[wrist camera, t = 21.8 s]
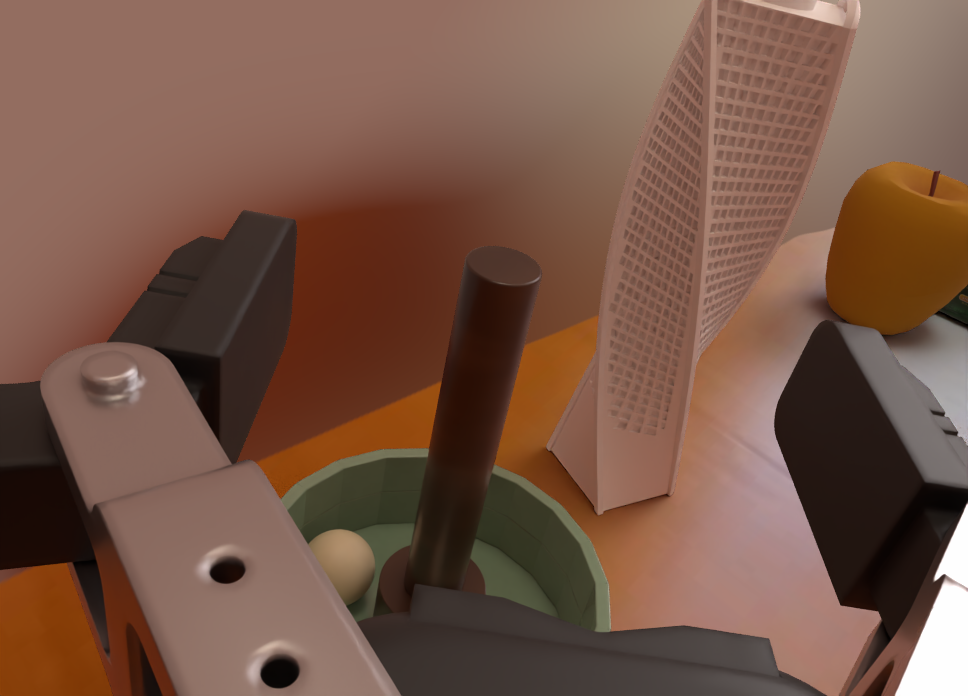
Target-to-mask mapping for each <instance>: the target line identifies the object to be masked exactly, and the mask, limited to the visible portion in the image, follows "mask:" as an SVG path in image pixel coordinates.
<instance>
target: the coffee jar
mask: <svg viewBox="0 0 968 696" xmlns="http://www.w3.org/2000/svg"><path fill="white" fill-rule="evenodd" d="M939 311H941V312H943V313H945V314H947V315H949V316H951V317H953V318H955V319H957V320H959V321H961V322H964V323H966V324H968V285H967V286H966V287H965V288H964V289H963V290H962V291H961V292H959V293H958V294H957V295H956V296H955V297H954V298H953V299H952V300H951V301H950V302H949V303H948V304H947V305H945V306H944V307H943V308H941V309H940V310H939Z"/></svg>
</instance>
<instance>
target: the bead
mask: <svg viewBox="0 0 968 696" xmlns="http://www.w3.org/2000/svg"><path fill="white" fill-rule="evenodd" d="M308 545H309V547H310V548H311V550H312V552H313V553H314V555H315V557H316V558H317V560H318V561H319V563H320V565H321V566H322V568H323V570H324V571H325V573H326V574H327V576H328V578H329V579H330V581H331V582H332V584H333V586H334V587H335V589H336V591H337V592H338V594H339V595H340V597H341V599H342V600H343V602H344V604H345V605H349V604H352V603H354V602H355V601H357V600H358V599H360V598H361V597H362V596H363V595H364V594H365V593H366V592H367V590H368V589H369V587H370V586H371V584H372V581H373V579H374V574H375V558H374V554H373V552H372V549H371V548H370V546H369V544H368V543H367V542H366V541H365V540H364V539H363V538H362V537H361V536H359V535H358V534H356V533H354V532H352V531H348V530H343V529H335V530H329V531H326V532H324V533H321V534H320V535H318V536H316V537H315V538H314V539H313V540H312V541H311V542H310V543H309V544H308Z"/></svg>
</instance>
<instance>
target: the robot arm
mask: <svg viewBox="0 0 968 696" xmlns="http://www.w3.org/2000/svg"><path fill="white" fill-rule="evenodd" d="M296 236H297V226H296V221H295V220H294V219H290V218H284V217H279V216H273V215H268V214H263V213H258V212H252V211H247V210H244V211H242V213H241V214H240V215H239V217H238V218H237V220H236V221H235V223H234V225H233V226H232V228H231V229H230V231H229V232H228V234H227V235H226V237H225V238H224V240H220V239H214V238H209V237H203V236H201V237H199V238H197V239H195V240H193V241H191V242H189V243H188V244H186V245H184V246H182V247H180V248H178V249H176V250H174V251H173V253H172V254H171V256H170V257H169V258H168V260H167V261H166V262H165V264H164V265H163V266H162V268H161V269H160V273H159V274H157V275H156V276H155V277H154V279H153V280H152V281H151V283H150V284H149V285H148V289H147V291H144V292H143V293H142V295H141V296H140V298H139V299H138V300H137V302H136V303H135V305H134V306H133V307H132V308H131V310H130V311H129V313H128V314H127V315H126V317H125V318H124V319H123V321H122V322H121V323H120V325H119V326H118V327H117V329H116V330H115V332H114V333H113V334H112V336H111V337H110V338H109V340H108V341H107V342H106V343H99V344H92V345H88V346H84V347H81V348H78V349H75V350H72V351H70V352H68V353H66V354H64V355H62V356H61V357H59V358H58V359H56V360H55V361H54V362H52V363H51V364H50V365H49V366H48V367H47V369H46V370H45V371H44V373H43V376H42V378H41V381H36V382H30V383H18V384H0V570H3V569H13V568H22V567H31V566H41V565H50V564H59V563H67V565H68V567H69V570H70V573H71V576H72V579H73V581H74V584H75V587H76V590H77V593H78V595H79V598H80V601H81V604H82V607H83V610H84V612H85V615H86V618H87V621H88V624H89V626H90V629H91V632H92V635H93V638H94V640H95V643H96V646H97V649H98V652H99V654H100V657H101V660H102V663H103V666H104V668H105V671H106V674H107V677H108V680H109V683H110V687H111V690H112V694H113V696H827V695H825V694H823V693H822V692H820V691H818V690H817V689H815V688H813V687H812V686H810V685H809V684H807V683H805V682H803V681H801V680H799V679H797V678H795V677H793V676H791V675H789V674H787V673H784V672H782V671H779V670H778V668H777V665H776V661H775V658H774V654H773V651H772V647H771V644H770V640H769V639H768V638H762V637H755V636H749V635H742V634H736V633H729V632H723V631H716V630H710V629H704V628H697V627H691V626H672V627H660V628H648V629H636V630H624V631H612V632H597V631H592V630H588V629H585V628H583V627H580V626H578V625H575V624H572V623H570V622H567V621H564V620H562V619H559V618H556V617H554V616H551V615H549V614H546V613H543V612H541V611H538V610H535V609H533V608H530V607H528V606H525V605H522V604H520V603H517V602H514V601H512V600H509V599H506V598H504V597H497V596H491V595H484V594H478V593H471V592H465V591H459V590H452V589H446V588H439V587H433V586H426V585H420V584H415V585H414V590H413V594H412V599H411V604H410V608H409V612H399V613H390V614H385V615H380V616H375V617H370V618H367V619H364V620H361V621H358V622H356V621H355V620H354V618H353V616H352V615H351V613H350V612H349V610H348V608H347V607H346V605H345V604H344V602H343V600H342V599H341V597H340V595H339V594H338V592H337V591H336V589H335V587H334V586H333V584H332V582H331V581H330V579H329V578H328V576H327V574H326V573H325V571H324V570H323V568H322V566H321V565H320V563H319V561H318V560H317V558H316V557H315V555H314V553H313V552H312V550H311V548H310V547H309V545H308V544H307V542H306V540H305V539H304V537H303V535H302V534H301V532H300V531H299V529H298V527H297V526H296V524H295V523H294V521H293V519H292V518H291V516H290V514H289V513H288V511H287V510H286V508H285V506H284V505H283V503H282V501H281V500H280V498H279V497H278V495H277V493H276V492H275V490H274V488H273V487H272V485H271V484H270V482H269V480H268V479H267V477H266V476H265V474H264V473H263V471H262V470H261V468H260V467H259V466H258V465H257V464H256V463H255V462H254V461H252V460H245V461H241V462H238V463H236V462H237V460H238V457H239V455H240V452H241V450H242V448H243V445H244V443H245V441H246V438H247V436H248V433H249V431H250V428H251V426H252V424H253V421H254V419H255V417H256V414H257V412H258V409H259V407H260V405H261V402H262V400H263V397H264V395H265V393H266V390H267V388H268V386H269V383H270V380H271V378H272V376H273V373H274V371H275V369H276V366H277V364H278V362H279V359H280V357H281V355H282V352H283V349H284V347H285V343H286V340H287V336H288V331H289V326H290V320H291V313H292V298H293V284H294V269H295V254H296V238H297V237H296ZM944 415H945V412H944V410H943V409H942V407H941V406H940V404H939V403H938V401H937V400H936V398H935V397H934V395H933V394H932V392H931V391H930V389H929V388H928V387H927V386H925V385H924V384H923V383H922V382H921V381H920V380H919V379H917V378H916V377H915V376H914V375H913V374H912V373H910V372H909V371H908V370H907V369H906V368H905V367H903V366H901V365H900V363H899V362H898V360H897V359H896V357H895V356H894V354H893V352H892V351H891V349H890V348H889V346H888V345H887V343H886V342H885V340H884V338H883V337H882V335H881V334H880V333H879V331H877V330H876V329H873V328H869V327H863V326H858V325H853V324H847V323H842V322H836V321H831V320H825V321H822V322H821V323H820V324H819V325H818V326H817V327H816V328H815V329H814V331H813V333H812V335H811V337H810V339H809V341H808V343H807V345H806V346H805V348H804V350H803V352H802V354H801V356H800V358H799V360H798V362H797V364H796V366H795V368H794V370H793V372H792V374H791V376H790V378H789V380H788V382H787V384H786V386H785V388H784V390H783V392H782V394H781V396H780V399H779V401H778V404H777V408H776V412H775V420H774V428H775V435H776V439H777V441H778V444H779V447H780V449H781V452H782V454H783V457H784V460H785V462H786V465H787V467H788V470H789V473H790V475H791V478H792V480H793V483H794V486H795V488H796V491H797V493H798V496H799V499H800V501H801V504H802V506H803V509H804V512H805V514H806V517H807V519H808V522H809V525H810V527H811V530H812V532H813V535H814V538H815V540H816V543H817V545H818V548H819V551H820V553H821V556H822V558H823V561H824V564H825V566H826V569H827V571H828V574H829V577H830V579H831V582H832V584H833V587H834V590H835V592H836V595H837V597H838V600H839V603H840V605H841V606H847V607H854V608H860V609H866V610H873V611H878V612H879V614H880V616H881V620H880V622H879V623H878V624H877V626H876V627H875V629H874V630H873V631H872V633H871V634H870V635H869V637H868V639H867V641H866V643H865V645H864V647H863V649H862V651H861V653H860V655H859V657H858V659H857V661H856V663H855V665H854V667H853V669H852V671H851V673H850V675H849V677H848V679H847V681H846V682H845V684H844V686H843V688H842V690H841V692H840V694H839V696H968V446H967V445H966V443H965V442H964V440H963V439H962V437H958V436H957V434H958V431H957V430H956V428H955V427H954V425H953V424H952V422H951V421H950V419H949V418H948V417H945V416H944Z"/></svg>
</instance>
